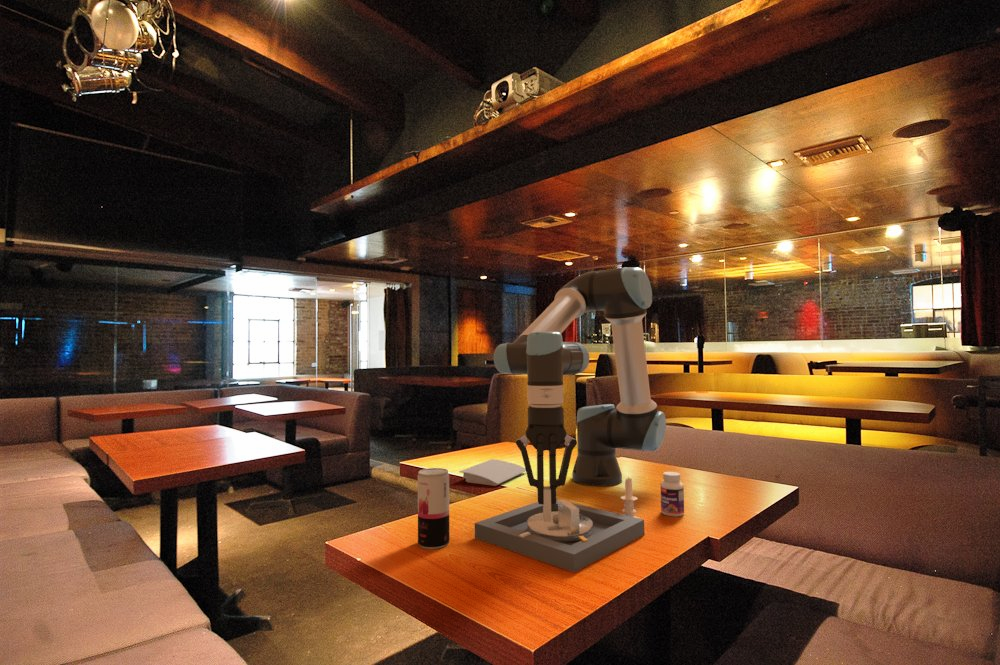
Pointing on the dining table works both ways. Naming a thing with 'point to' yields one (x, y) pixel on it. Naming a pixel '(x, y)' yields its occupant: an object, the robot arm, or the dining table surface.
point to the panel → (571, 556)
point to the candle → (629, 499)
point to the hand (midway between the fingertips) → (547, 519)
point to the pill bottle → (672, 495)
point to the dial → (561, 524)
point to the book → (492, 472)
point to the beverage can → (433, 508)
